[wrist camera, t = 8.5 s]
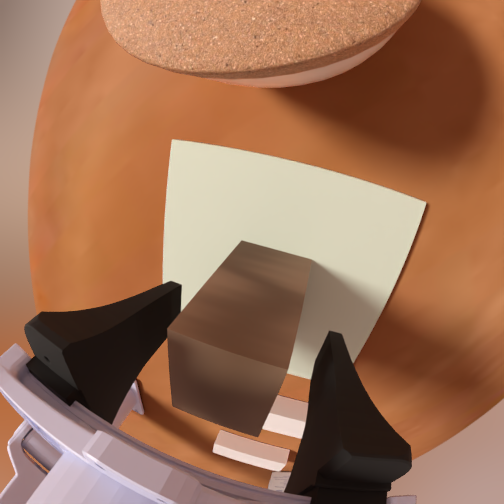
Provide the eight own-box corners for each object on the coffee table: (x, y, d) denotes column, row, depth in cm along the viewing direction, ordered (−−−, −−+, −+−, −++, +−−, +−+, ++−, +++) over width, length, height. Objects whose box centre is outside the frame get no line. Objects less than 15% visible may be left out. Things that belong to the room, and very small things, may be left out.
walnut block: (230, 310, 18) (172, 406, 11) (241, 240, 15) (167, 328, 8) (290, 328, 17) (258, 437, 10) (311, 259, 15) (287, 369, 8)
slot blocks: (218, 439, 27) (212, 452, 25) (231, 380, 21) (223, 397, 19) (282, 458, 26) (279, 471, 24) (322, 406, 20) (320, 425, 18)
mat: (166, 326, 21) (163, 329, 20) (175, 139, 15) (172, 139, 14) (338, 382, 18) (338, 386, 18) (424, 201, 12) (426, 202, 12)
